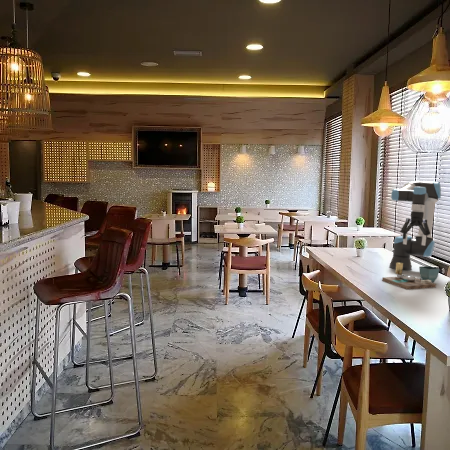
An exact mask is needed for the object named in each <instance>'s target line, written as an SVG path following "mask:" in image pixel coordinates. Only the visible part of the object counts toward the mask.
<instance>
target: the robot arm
mask: <svg viewBox="0 0 450 450" xmlns="http://www.w3.org/2000/svg"><path fill="white" fill-rule="evenodd" d="M390 195H391V196H390V197H391V201H396V202H411V209H410V210H411V212H410V218H409V217H407V218H406V219H405V222H404V224H403V225H402V227H401V229H400V231H399V232H400V233H401V234H402V235H401V236H400V235H399V236H396V237H395V238H394V242H393V251H392V252H393V253H392V254H393V255H392V258H391V261H390V263H389V268H392V269H393V270H394V269H395V270H396V263H403V269H402V271H410V270H412V268H413V265H412V261H411V256H417V257H426V258H427V257H429V258H430V257H431V256H432V255H433V253H434V248H435V245H436V241H435V240H434V238H433V236H432V230H433V225H434V216H435V208H436V203H437V202H438V201H439V199H441V198H442V188H441V183H440V182H439V181H434V180H433V181H429V180H428V181H427V180H426V181H425V180H423V181H422V180H413V181H410V182H407V183H405V184H404V185H403V186H402V188H400V189H398V188H396V189H395V188H394V189H392V190H391V194H390ZM413 227H418V231H417V233H418V234H417V235H415V237H414V238H413V237H412V236H411V235H410V236H409V235H408V232H409V231H411V229H412V228H413Z"/></svg>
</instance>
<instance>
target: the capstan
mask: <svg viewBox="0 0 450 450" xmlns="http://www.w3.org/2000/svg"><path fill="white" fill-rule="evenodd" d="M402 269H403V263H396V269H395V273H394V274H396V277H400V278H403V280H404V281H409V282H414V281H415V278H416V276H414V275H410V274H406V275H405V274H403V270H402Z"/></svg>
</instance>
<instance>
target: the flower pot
mask: <svg viewBox="0 0 450 450" xmlns="http://www.w3.org/2000/svg"><path fill="white" fill-rule="evenodd" d="M418 269H419V276H420V278H421V280H431V283H434V282H435V281H436V280H437V279H438V277H439V273H440V268H438V267H434V266H431V265H430V266H429V265H425V266H423V265H422V266H419V268H418Z"/></svg>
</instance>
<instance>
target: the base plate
mask: <svg viewBox="0 0 450 450" xmlns="http://www.w3.org/2000/svg"><path fill="white" fill-rule="evenodd" d="M381 281H383V282H385V283H388V284H392V285H394V286H396V287H400V288H402V289H405V290H416V289H417V290H418V289H431V288H432V289H433V288H436V287H437V284H436V283H434V282H431V280H422V279H420V278H418V277H415V281H414V282H409V281H404V280H403V278H400V277H397V276H388V277H386V276H385V277H382V279H381Z"/></svg>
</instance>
